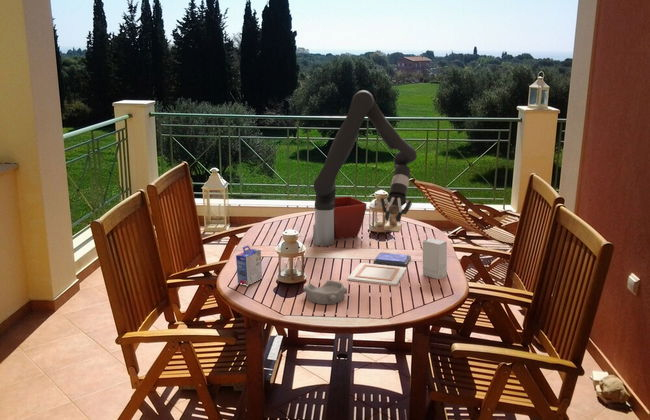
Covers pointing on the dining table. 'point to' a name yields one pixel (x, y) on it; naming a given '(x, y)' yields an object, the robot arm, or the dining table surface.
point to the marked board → (377, 274)
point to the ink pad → (392, 259)
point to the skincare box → (435, 258)
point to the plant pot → (348, 217)
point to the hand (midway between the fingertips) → (392, 220)
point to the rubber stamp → (393, 220)
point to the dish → (326, 292)
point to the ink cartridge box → (249, 266)
